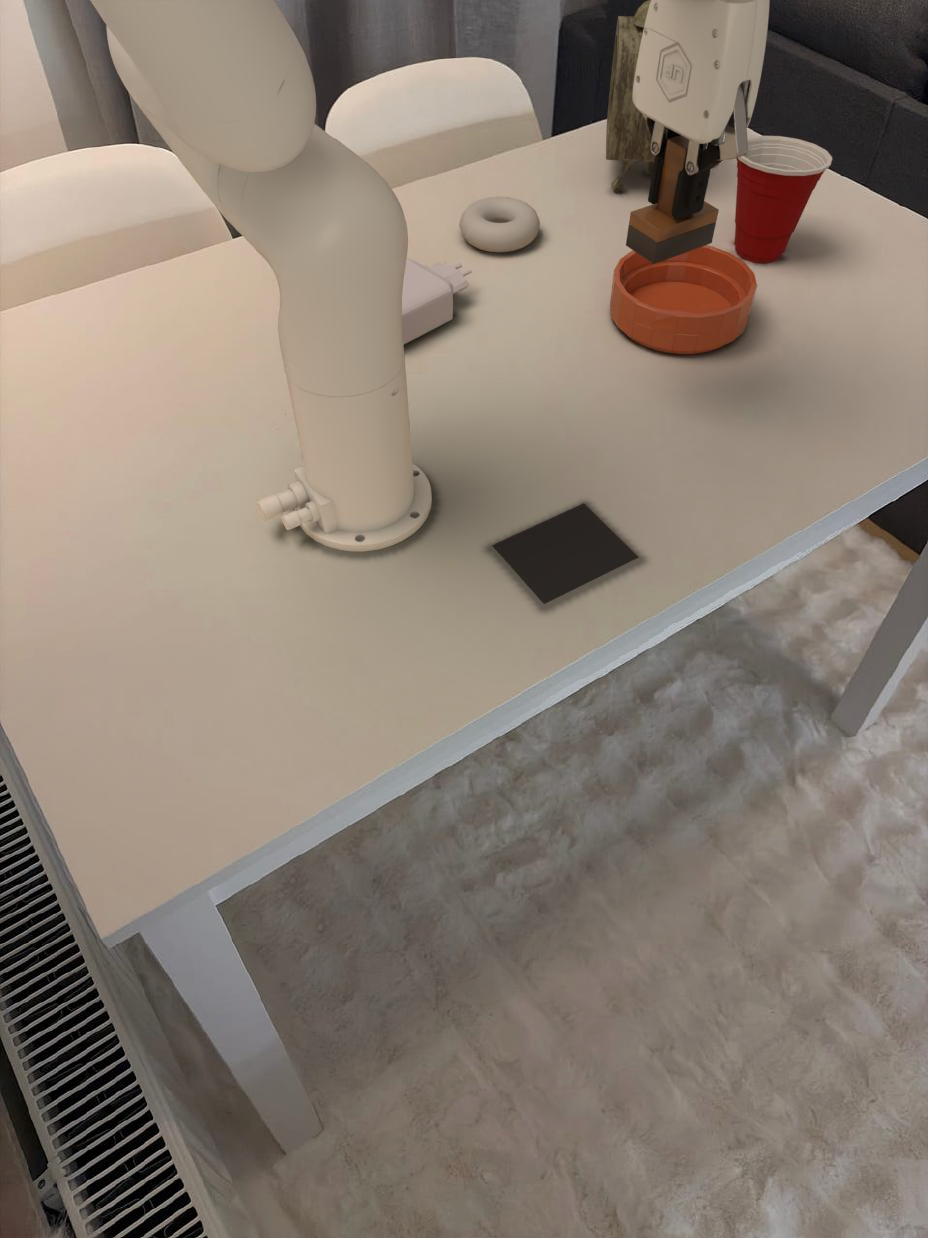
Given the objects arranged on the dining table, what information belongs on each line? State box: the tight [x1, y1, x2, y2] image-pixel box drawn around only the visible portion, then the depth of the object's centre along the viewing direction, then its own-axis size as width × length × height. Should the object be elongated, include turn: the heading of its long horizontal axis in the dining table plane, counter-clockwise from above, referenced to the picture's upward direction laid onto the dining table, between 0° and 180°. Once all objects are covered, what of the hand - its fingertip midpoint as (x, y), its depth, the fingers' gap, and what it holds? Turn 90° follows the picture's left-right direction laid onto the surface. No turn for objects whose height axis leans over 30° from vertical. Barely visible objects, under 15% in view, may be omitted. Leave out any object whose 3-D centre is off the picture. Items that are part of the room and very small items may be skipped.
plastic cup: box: [733, 135, 833, 264], centre depth 108 cm, size 11×11×12 cm
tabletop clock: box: [605, 0, 656, 193], centre depth 116 cm, size 14×9×25 cm, turn 174°
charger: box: [402, 258, 473, 345], centre depth 103 cm, size 5×9×15 cm
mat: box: [491, 503, 639, 605], centre depth 80 cm, size 10×8×1 cm
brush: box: [625, 135, 720, 264], centre depth 81 cm, size 7×4×9 cm, turn 123°
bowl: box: [609, 244, 758, 355], centre depth 101 cm, size 15×15×5 cm
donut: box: [459, 196, 541, 253], centre depth 114 cm, size 10×4×10 cm
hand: (674, 204), depth 82 cm, fingers closed on brush, 2 cm apart
